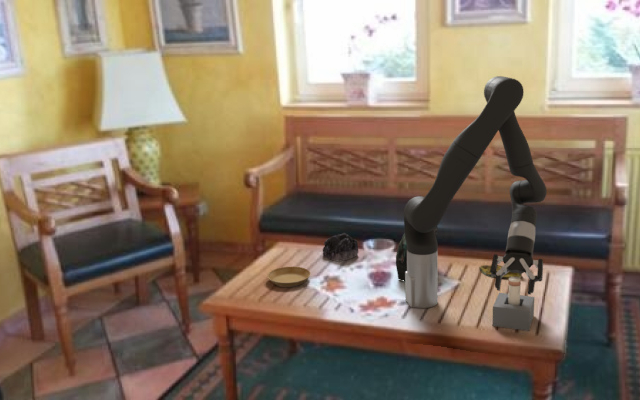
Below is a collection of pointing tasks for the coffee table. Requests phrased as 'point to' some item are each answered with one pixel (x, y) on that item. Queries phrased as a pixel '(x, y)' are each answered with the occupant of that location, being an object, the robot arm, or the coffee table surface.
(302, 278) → the plant saucer
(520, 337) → the coffee table surface
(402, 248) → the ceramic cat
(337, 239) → the crystal cluster
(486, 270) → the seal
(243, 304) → the coffee table surface
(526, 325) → the hole block
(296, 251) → the coffee table surface
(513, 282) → the dowel
